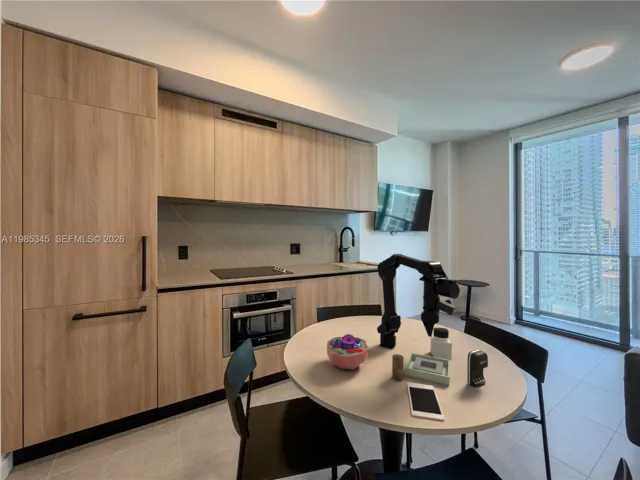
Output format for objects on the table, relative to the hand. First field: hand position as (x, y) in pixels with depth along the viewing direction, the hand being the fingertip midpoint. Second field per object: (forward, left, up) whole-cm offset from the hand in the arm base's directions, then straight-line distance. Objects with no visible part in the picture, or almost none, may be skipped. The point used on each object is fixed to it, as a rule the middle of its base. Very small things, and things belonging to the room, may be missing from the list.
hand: (430, 332), depth 110 cm
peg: (-10, -15, -14) cm, 22 cm away
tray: (0, -4, -14) cm, 14 cm away
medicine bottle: (+3, +13, -14) cm, 20 cm away
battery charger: (+16, -6, -14) cm, 22 cm away
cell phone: (0, -25, -14) cm, 29 cm away
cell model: (-30, -14, -14) cm, 36 cm away
